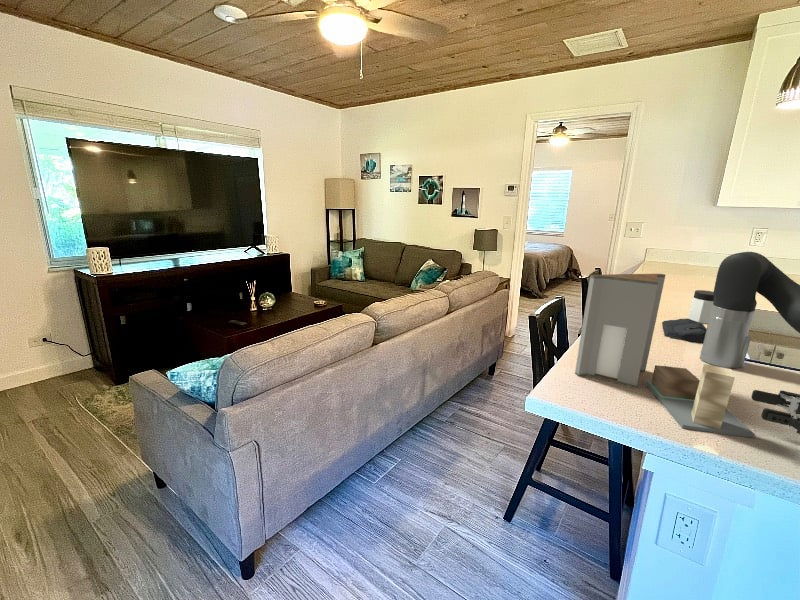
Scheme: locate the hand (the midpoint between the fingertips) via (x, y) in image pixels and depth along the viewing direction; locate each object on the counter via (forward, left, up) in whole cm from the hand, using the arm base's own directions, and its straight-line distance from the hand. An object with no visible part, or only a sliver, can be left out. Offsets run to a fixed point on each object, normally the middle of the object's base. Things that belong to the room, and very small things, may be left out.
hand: (757, 403), depth 75 cm
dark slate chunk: (-19, -69, -8) cm, 72 cm away
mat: (+5, -10, -8) cm, 14 cm away
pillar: (+6, -3, -7) cm, 10 cm away
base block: (+7, -16, -7) cm, 19 cm away
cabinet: (+17, -21, -8) cm, 29 cm away
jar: (-32, -87, -8) cm, 93 cm away
